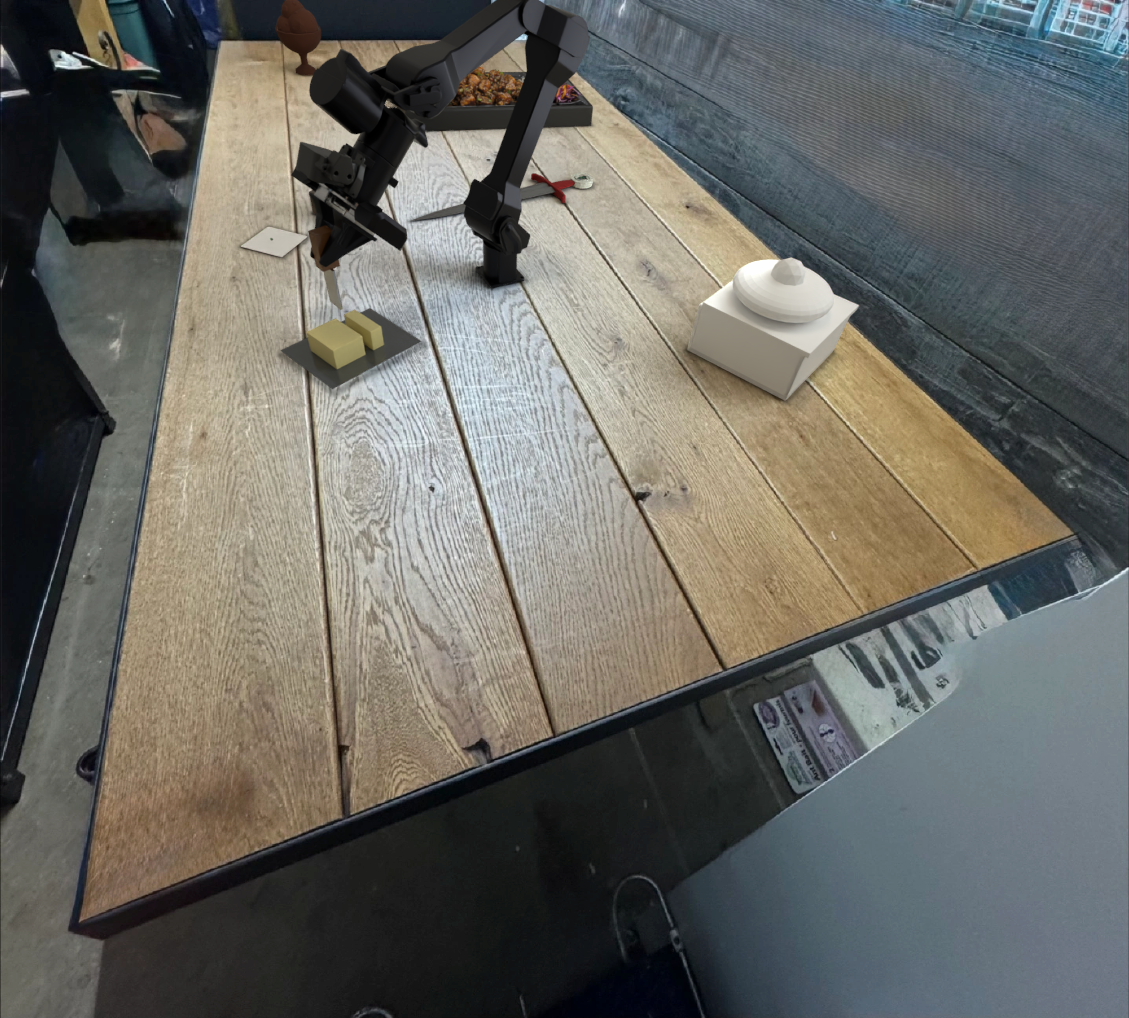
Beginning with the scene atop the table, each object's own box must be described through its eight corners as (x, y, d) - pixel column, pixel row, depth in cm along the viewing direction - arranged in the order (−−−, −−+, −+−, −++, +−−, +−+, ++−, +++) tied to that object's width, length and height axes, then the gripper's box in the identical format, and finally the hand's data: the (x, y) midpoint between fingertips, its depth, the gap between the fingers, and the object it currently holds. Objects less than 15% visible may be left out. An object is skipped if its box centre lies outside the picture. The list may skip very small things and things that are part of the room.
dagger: (394, 194, 129) (393, 186, 128) (583, 175, 142) (583, 167, 141) (409, 222, 122) (408, 213, 121) (606, 199, 135) (607, 191, 134)
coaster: (308, 236, 116) (307, 232, 115) (281, 257, 111) (280, 252, 110) (268, 226, 117) (267, 222, 116) (240, 246, 112) (239, 242, 111)
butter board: (370, 312, 103) (369, 307, 102) (422, 345, 98) (421, 341, 98) (281, 354, 94) (280, 350, 93) (333, 393, 90) (332, 388, 89)
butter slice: (358, 327, 98) (354, 309, 96) (384, 345, 96) (381, 326, 94) (347, 332, 97) (343, 314, 95) (373, 350, 95) (370, 331, 93)
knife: (338, 297, 94) (323, 223, 86) (349, 306, 93) (335, 231, 85) (322, 304, 93) (305, 229, 84) (333, 312, 92) (317, 237, 83)
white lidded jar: (740, 307, 112) (769, 216, 100) (836, 352, 106) (880, 261, 94) (686, 350, 103) (711, 255, 91) (788, 403, 96) (830, 308, 84)
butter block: (339, 336, 97) (335, 318, 94) (365, 354, 94) (362, 335, 92) (310, 350, 94) (305, 331, 92) (337, 369, 92) (332, 350, 89)
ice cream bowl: (275, 74, 166) (259, 1, 155) (299, 62, 173) (286, -9, 162) (313, 81, 165) (299, 9, 154) (335, 69, 172) (324, -1, 161)
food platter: (561, 90, 176) (564, 44, 168) (591, 125, 161) (596, 77, 153) (391, 93, 164) (386, 44, 156) (407, 131, 149) (402, 80, 142)
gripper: (287, 90, 81) (229, 203, 84) (374, 142, 73) (306, 265, 76) (353, 144, 91) (299, 244, 93) (436, 195, 83) (374, 302, 86)
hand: (317, 261), depth 87 cm, fingers closed on knife, 2 cm apart
